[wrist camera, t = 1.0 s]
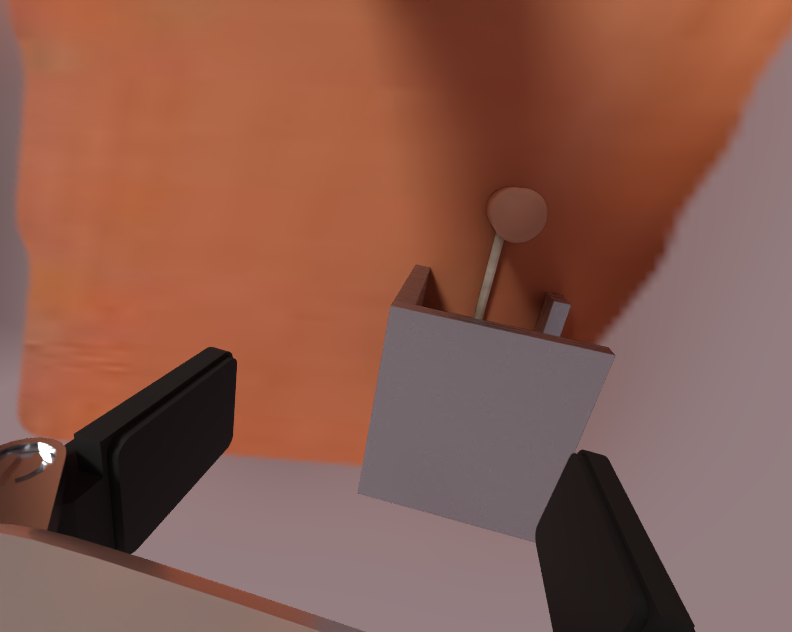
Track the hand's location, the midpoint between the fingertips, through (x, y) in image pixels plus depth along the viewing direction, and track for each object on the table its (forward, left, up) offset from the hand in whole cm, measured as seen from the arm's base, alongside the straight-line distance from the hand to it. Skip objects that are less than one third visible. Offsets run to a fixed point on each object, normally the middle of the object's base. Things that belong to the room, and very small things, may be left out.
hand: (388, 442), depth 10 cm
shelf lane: (+6, +4, -21) cm, 22 cm away
